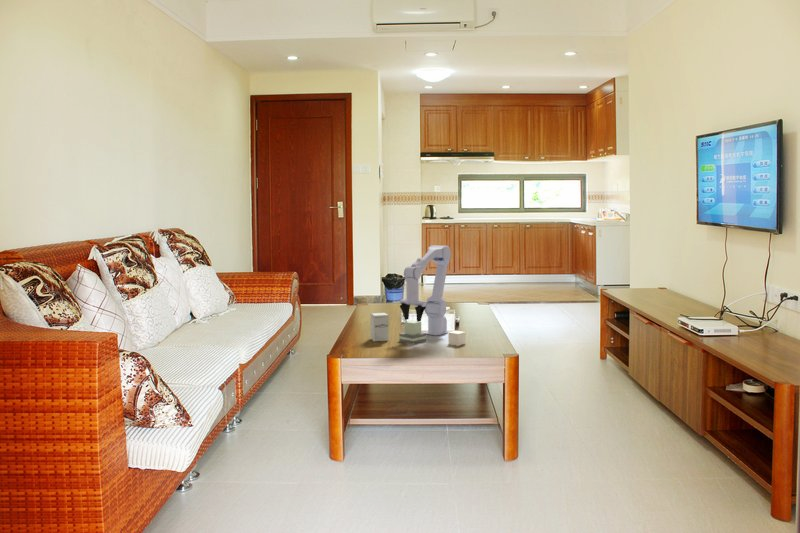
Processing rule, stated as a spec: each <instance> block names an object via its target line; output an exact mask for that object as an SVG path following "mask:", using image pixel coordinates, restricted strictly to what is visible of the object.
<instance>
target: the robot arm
mask: <svg viewBox="0 0 800 533" xmlns="http://www.w3.org/2000/svg"><path fill="white" fill-rule="evenodd" d="M451 254H452V251H451V248H450V247H449V246H448V245H434V244H431V245H430V246H429V247H428V248H427V252H426V253H425V254H424V256H423V257H418V258H416V260H415V261H414V262H413V263H412V264H410V266H407V267H405V269H404V270H403V276H404V281H405V283H406V290H405V291H406V299H399V307H400V310H401V311H402V315H403V319H404V321H407V320H409V318H410V308H411V306H414V309H415V314H416V321H418V322H419V321H420V322H422V318H423V314H424V313H425V314H426V316H427V318H428V319H427V328H428V330H427V331H426V332H424V333H426V335H432V336H435V337H436V336H440V335H444V334H449V331H447V330H448V325H447V323H448V320H447V318H446V316H445V315H446V313H447V301H446V300H445V299H444V297H443V294H444V288H445V284H446V277H447V271H448V266H449V263H450V260H451ZM431 261H432V262H433V263H435V265H436V270H435V275H434V282H433V288H432V292H431V293H432V294H431V296H430V297H428V298H426V302H425V301H422V300H419V296H420V292H419V289H420V288H419V279H420V278H421V276H422V273H423V272H424V270H425V269H427V267H428V263H430V262H431Z"/></svg>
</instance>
